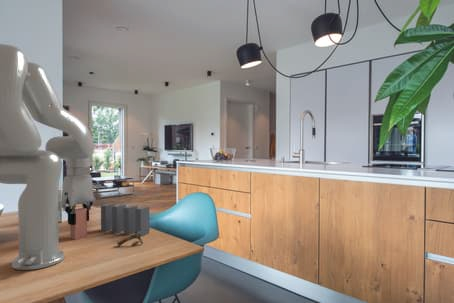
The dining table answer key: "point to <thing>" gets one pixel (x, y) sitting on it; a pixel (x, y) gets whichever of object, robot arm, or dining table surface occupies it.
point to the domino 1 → (79, 224)
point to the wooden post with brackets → (130, 239)
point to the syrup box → (61, 213)
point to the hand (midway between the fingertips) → (78, 222)
